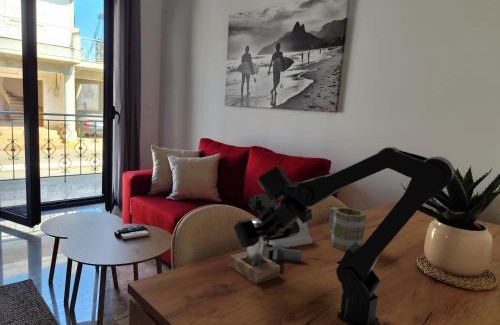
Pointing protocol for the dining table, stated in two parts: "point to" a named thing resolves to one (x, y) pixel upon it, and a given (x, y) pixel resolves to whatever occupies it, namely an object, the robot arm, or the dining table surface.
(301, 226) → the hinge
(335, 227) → the mug
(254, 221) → the axle
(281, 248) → the v block
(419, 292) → the dining table surface
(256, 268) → the rectangular block with hole
